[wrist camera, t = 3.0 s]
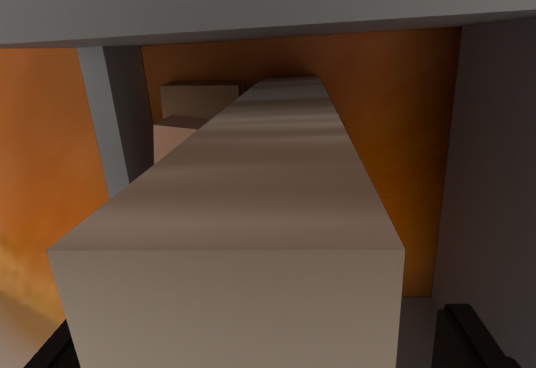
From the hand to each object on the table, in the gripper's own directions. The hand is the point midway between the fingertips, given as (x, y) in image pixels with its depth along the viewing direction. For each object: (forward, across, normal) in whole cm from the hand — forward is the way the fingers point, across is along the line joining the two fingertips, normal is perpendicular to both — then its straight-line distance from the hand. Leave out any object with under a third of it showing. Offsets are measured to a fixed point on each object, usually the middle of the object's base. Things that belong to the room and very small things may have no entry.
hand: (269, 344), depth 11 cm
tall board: (+12, -1, -1) cm, 12 cm away
